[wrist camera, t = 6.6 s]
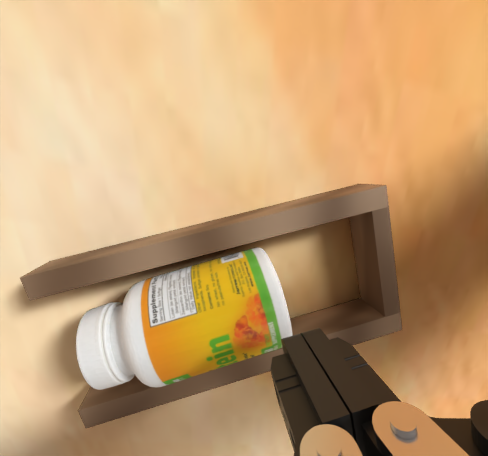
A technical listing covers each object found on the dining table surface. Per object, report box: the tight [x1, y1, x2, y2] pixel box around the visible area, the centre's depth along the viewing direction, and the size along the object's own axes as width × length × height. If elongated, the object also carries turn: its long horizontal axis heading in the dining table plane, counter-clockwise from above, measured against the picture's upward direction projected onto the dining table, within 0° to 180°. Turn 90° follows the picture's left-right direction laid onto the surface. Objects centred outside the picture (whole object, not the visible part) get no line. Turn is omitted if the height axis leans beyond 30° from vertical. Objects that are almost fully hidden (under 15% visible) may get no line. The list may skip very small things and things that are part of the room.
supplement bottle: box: [76, 248, 292, 390], centre depth 14 cm, size 5×5×10 cm
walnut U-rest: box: [20, 184, 402, 428], centre depth 16 cm, size 19×9×3 cm, turn 103°
